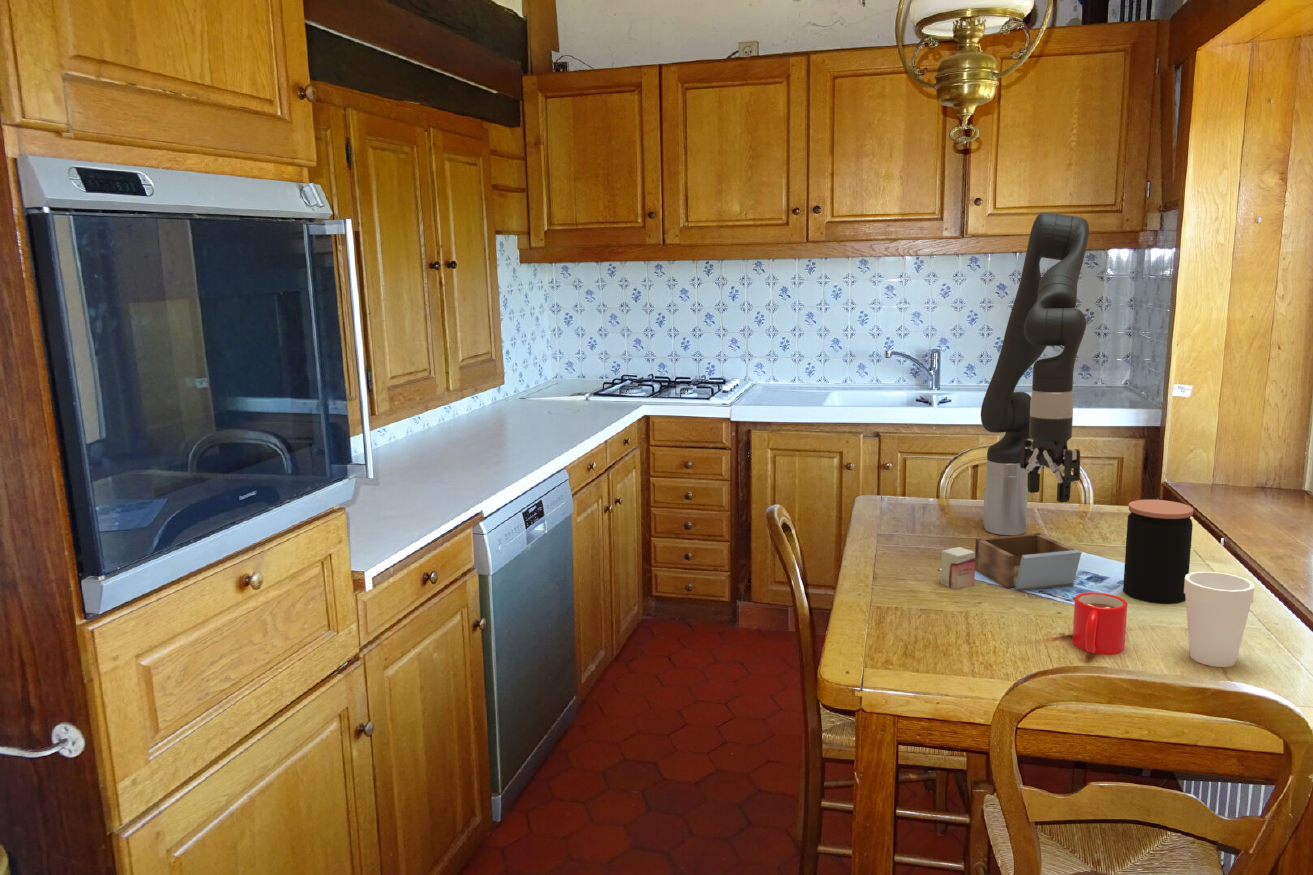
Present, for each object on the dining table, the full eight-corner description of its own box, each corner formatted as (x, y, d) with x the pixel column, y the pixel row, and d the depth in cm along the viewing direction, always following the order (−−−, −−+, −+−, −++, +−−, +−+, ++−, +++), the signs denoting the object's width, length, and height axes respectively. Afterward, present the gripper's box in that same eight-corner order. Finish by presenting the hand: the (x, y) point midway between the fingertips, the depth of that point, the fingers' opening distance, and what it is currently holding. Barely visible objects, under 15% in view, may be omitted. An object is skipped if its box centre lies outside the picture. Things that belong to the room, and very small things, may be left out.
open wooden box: (974, 573, 189) (975, 539, 187) (1037, 567, 192) (1038, 533, 190) (1007, 593, 177) (1009, 556, 176) (1073, 586, 180) (1075, 549, 179)
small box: (956, 594, 178) (957, 555, 176) (939, 588, 181) (940, 550, 180) (975, 589, 180) (976, 551, 178) (958, 583, 184) (959, 545, 182)
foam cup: (1183, 666, 144) (1190, 587, 141) (1174, 643, 152) (1179, 569, 150) (1254, 674, 140) (1261, 593, 138) (1240, 650, 149) (1247, 574, 146)
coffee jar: (1180, 591, 175) (1187, 500, 172) (1192, 611, 165) (1200, 515, 162) (1118, 587, 179) (1124, 497, 176) (1126, 606, 169) (1133, 512, 166)
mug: (1063, 657, 148) (1066, 611, 147) (1076, 632, 158) (1079, 589, 157) (1117, 668, 144) (1120, 620, 143) (1127, 641, 154) (1130, 596, 152)
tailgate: (1013, 590, 177) (1021, 555, 174) (1070, 584, 179) (1079, 549, 176) (1016, 593, 176) (1024, 558, 173) (1073, 587, 178) (1082, 552, 175)
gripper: (1094, 417, 168) (1090, 503, 171) (1043, 407, 181) (1040, 487, 184) (1059, 420, 166) (1055, 507, 169) (1010, 410, 180) (1007, 490, 182)
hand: (1047, 496), depth 176 cm, fingers open, 8 cm apart
